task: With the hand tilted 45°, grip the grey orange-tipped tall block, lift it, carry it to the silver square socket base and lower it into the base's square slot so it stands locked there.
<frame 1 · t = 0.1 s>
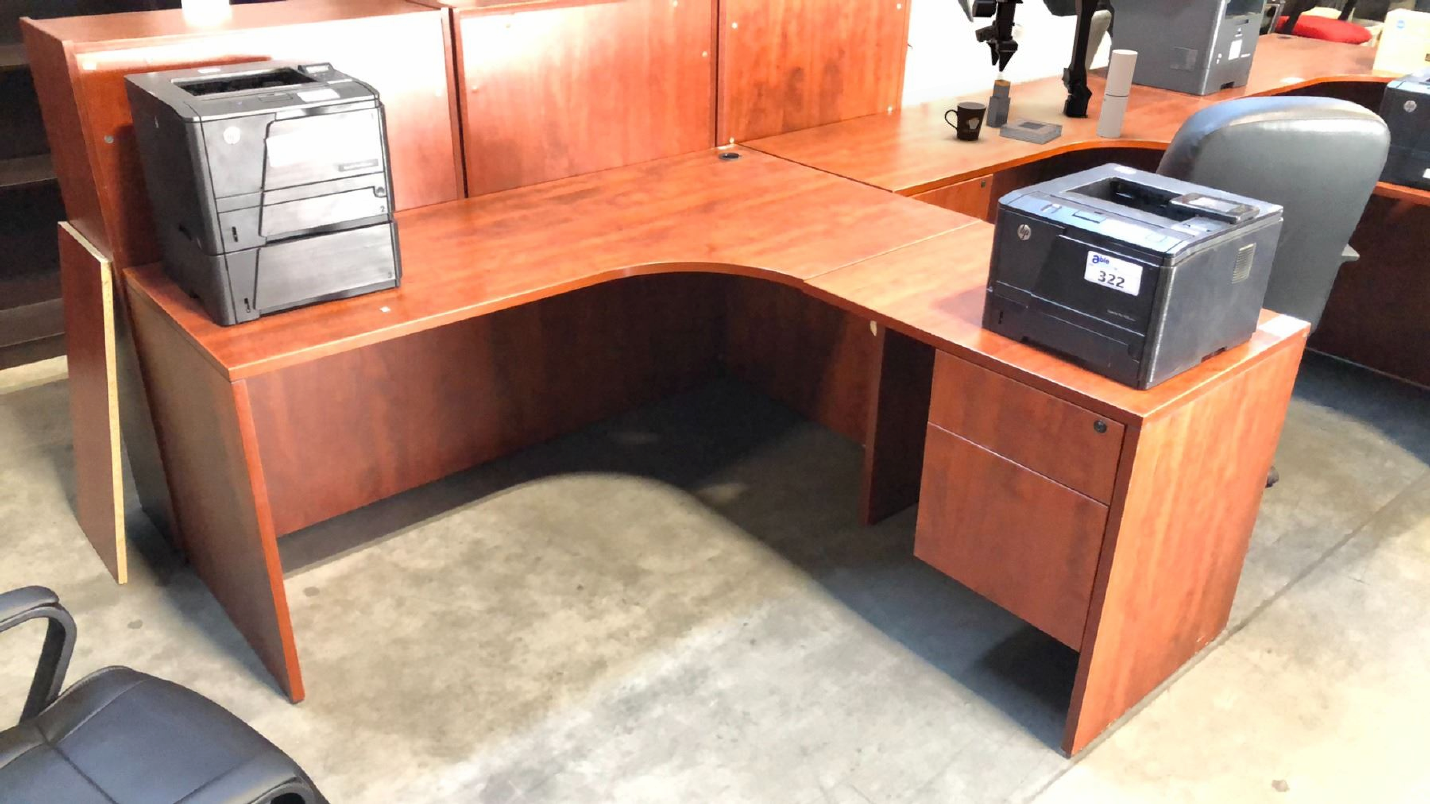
hand: (997, 68, 338), 15 cm above the table, tool pointing down, fingers open, 9 cm apart
coffee mug: (962, 138, 319), on the table
cylindrical container: (1108, 135, 325), on the table
silver square socket base: (1030, 135, 323), on the table
grey orange-tipped tall block: (996, 125, 332), on the table
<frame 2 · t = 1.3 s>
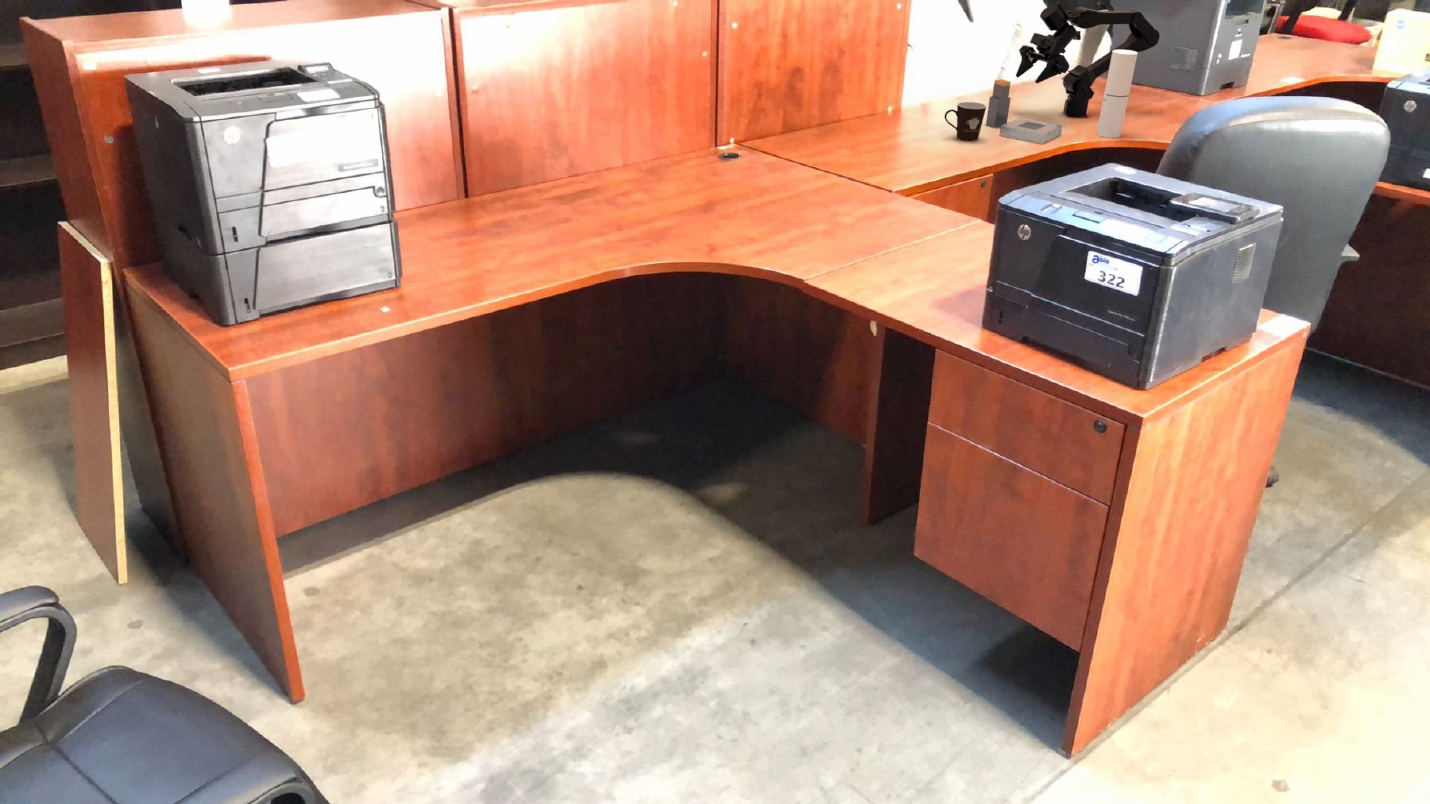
hand: (1026, 79, 332), 13 cm above the table, tool tilted 45°, fingers open, 9 cm apart
nothing on the table moved.
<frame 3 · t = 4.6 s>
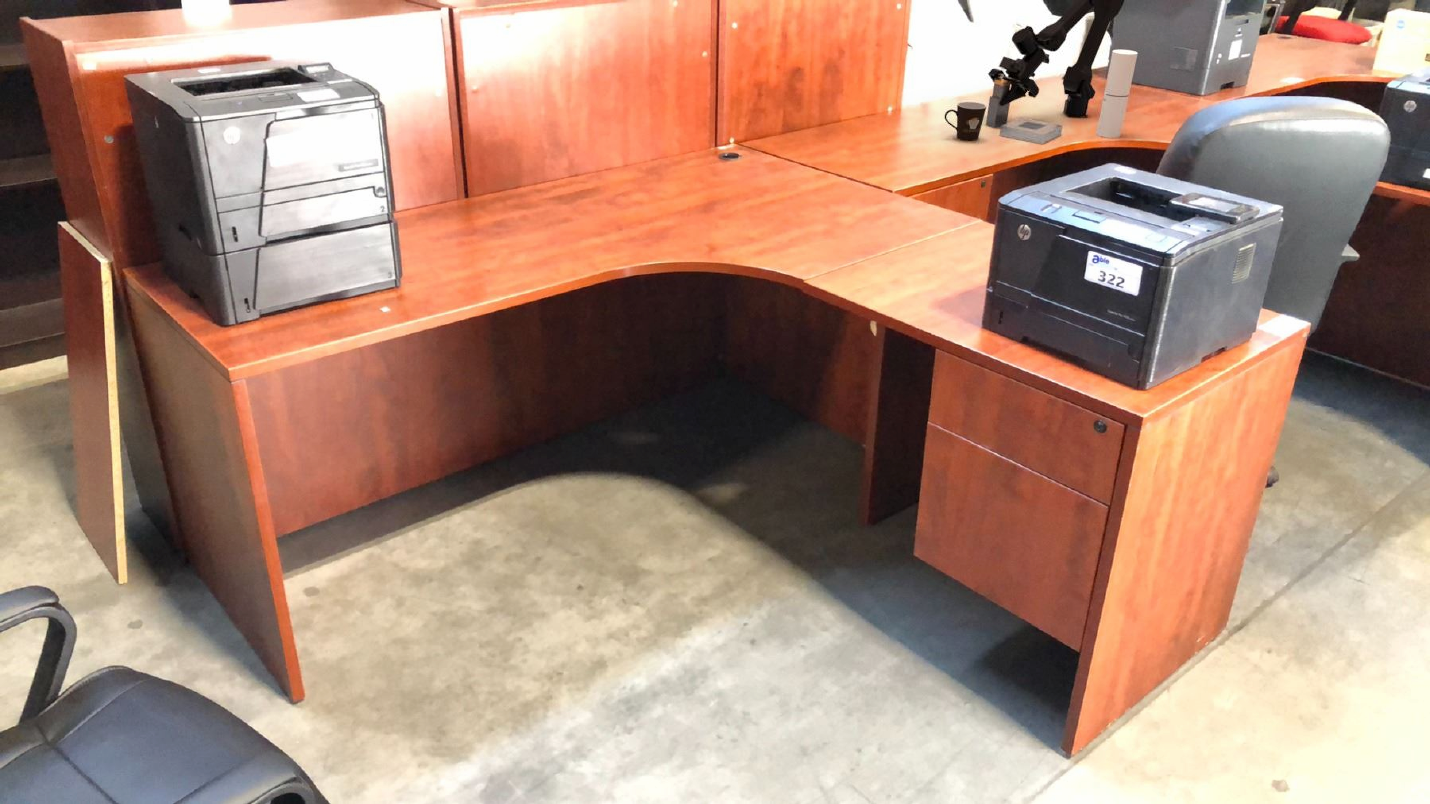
hand: (995, 103, 328), 7 cm above the table, tool tilted 45°, fingers closed on grey orange-tipped tall block, 4 cm apart
grey orange-tipped tall block: (996, 125, 332), on the table, touching gripper
everything else where it was.
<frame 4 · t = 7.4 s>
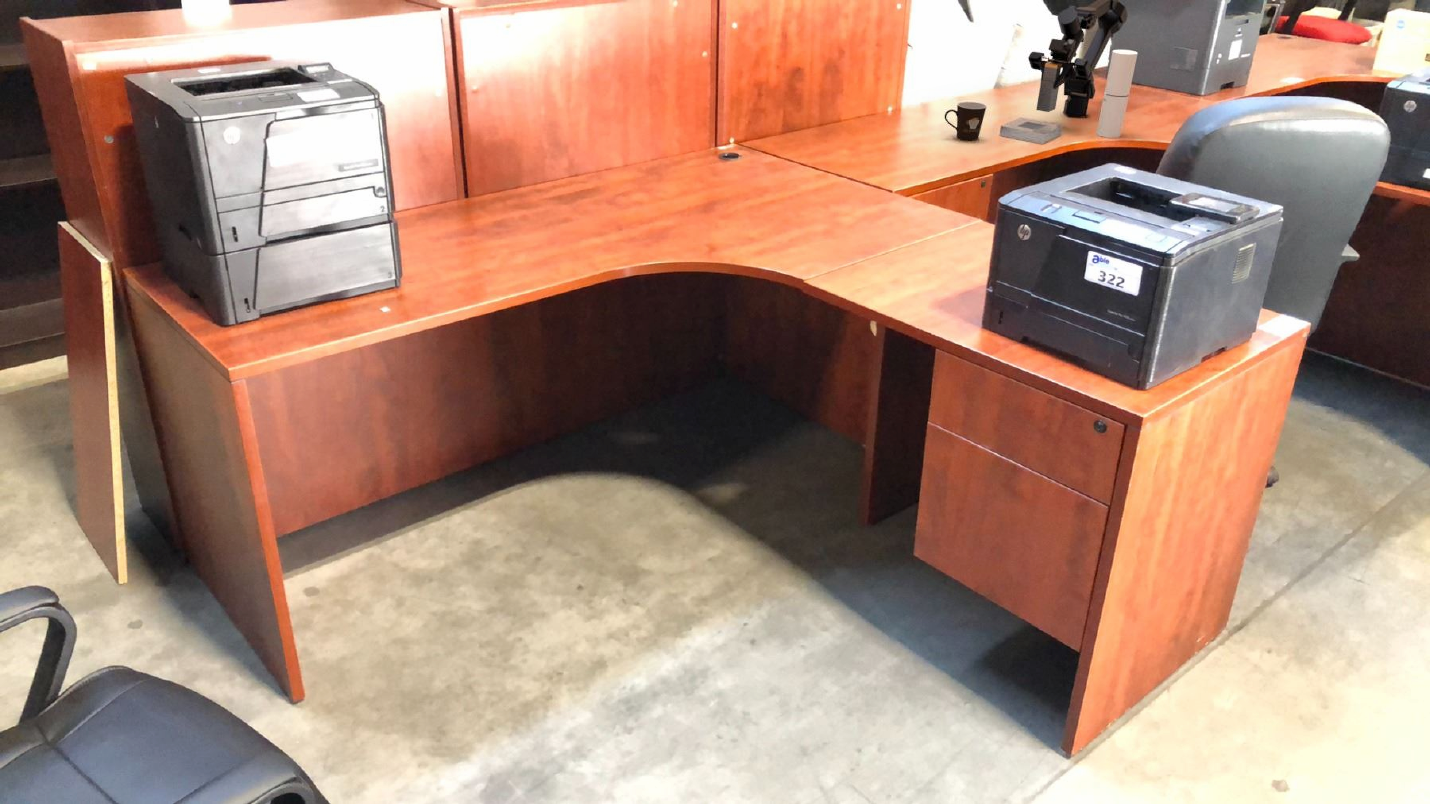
hand: (1047, 87, 321), 13 cm above the table, tool tilted 45°, fingers closed on grey orange-tipped tall block, 4 cm apart
grey orange-tipped tall block: (1045, 109, 326), point 6 cm above the table, touching gripper
everything else where it was.
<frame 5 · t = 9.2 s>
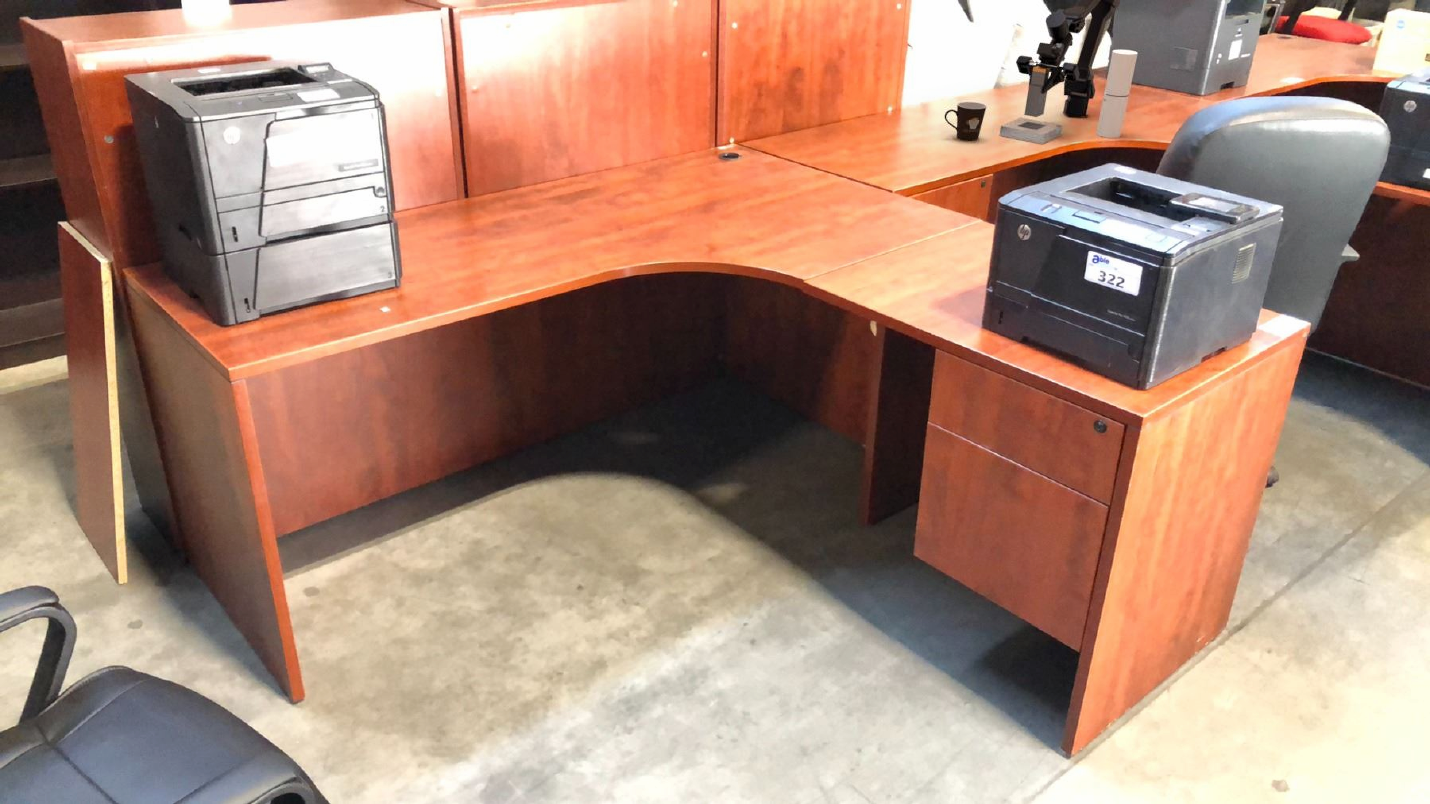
hand: (1035, 91, 315), 13 cm above the table, tool tilted 45°, fingers closed on grey orange-tipped tall block, 4 cm apart
grey orange-tipped tall block: (1033, 114, 320), point 6 cm above the table, touching gripper
everything else where it was.
when the fingers open (8 cm above the table, at t = 10.6 s): grey orange-tipped tall block drops 1 cm, resting in silver square socket base.
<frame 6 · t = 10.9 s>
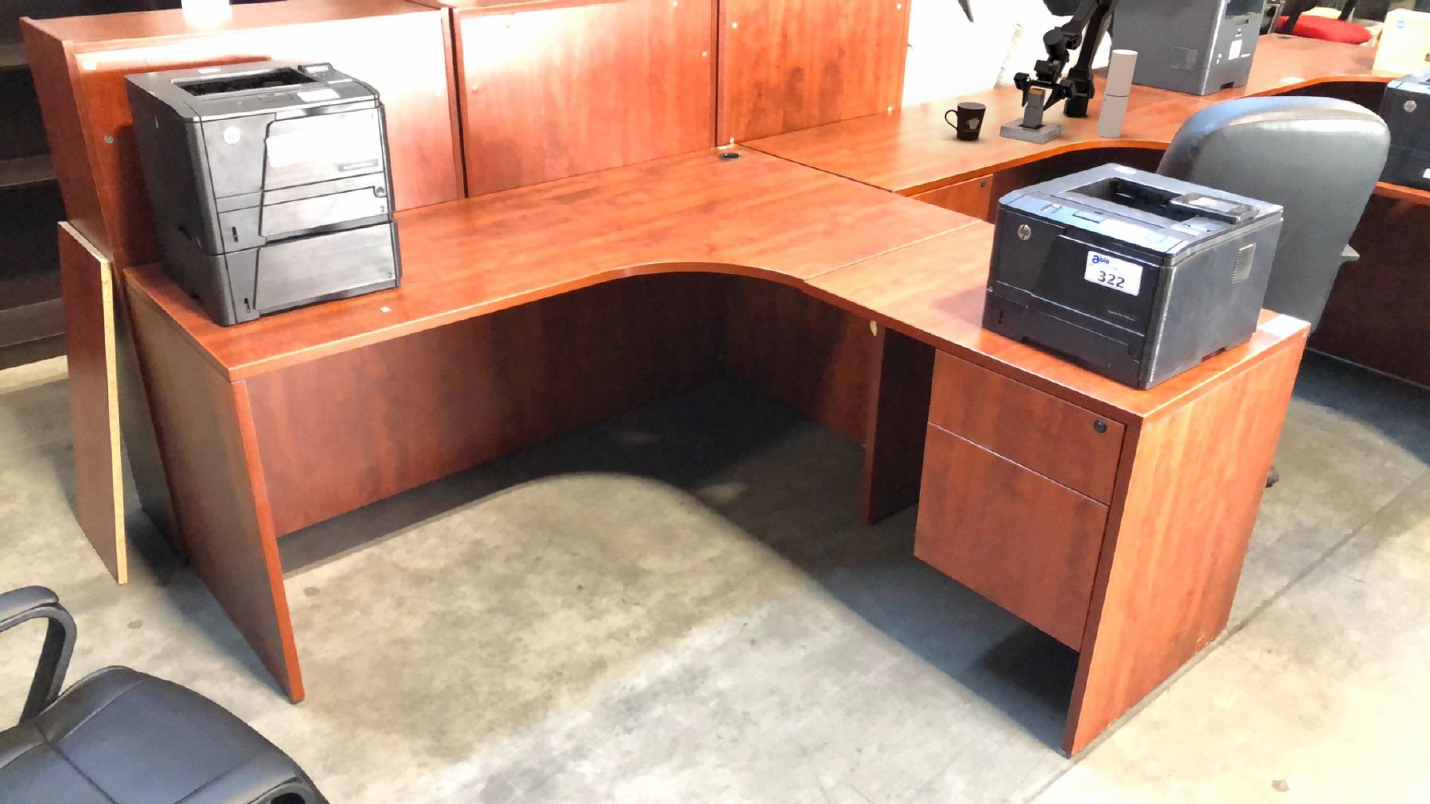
hand: (1033, 108, 318), 9 cm above the table, tool tilted 45°, fingers open, 7 cm apart
grey orange-tipped tall block: (1030, 135, 323), resting in silver square socket base
everything else where it was.
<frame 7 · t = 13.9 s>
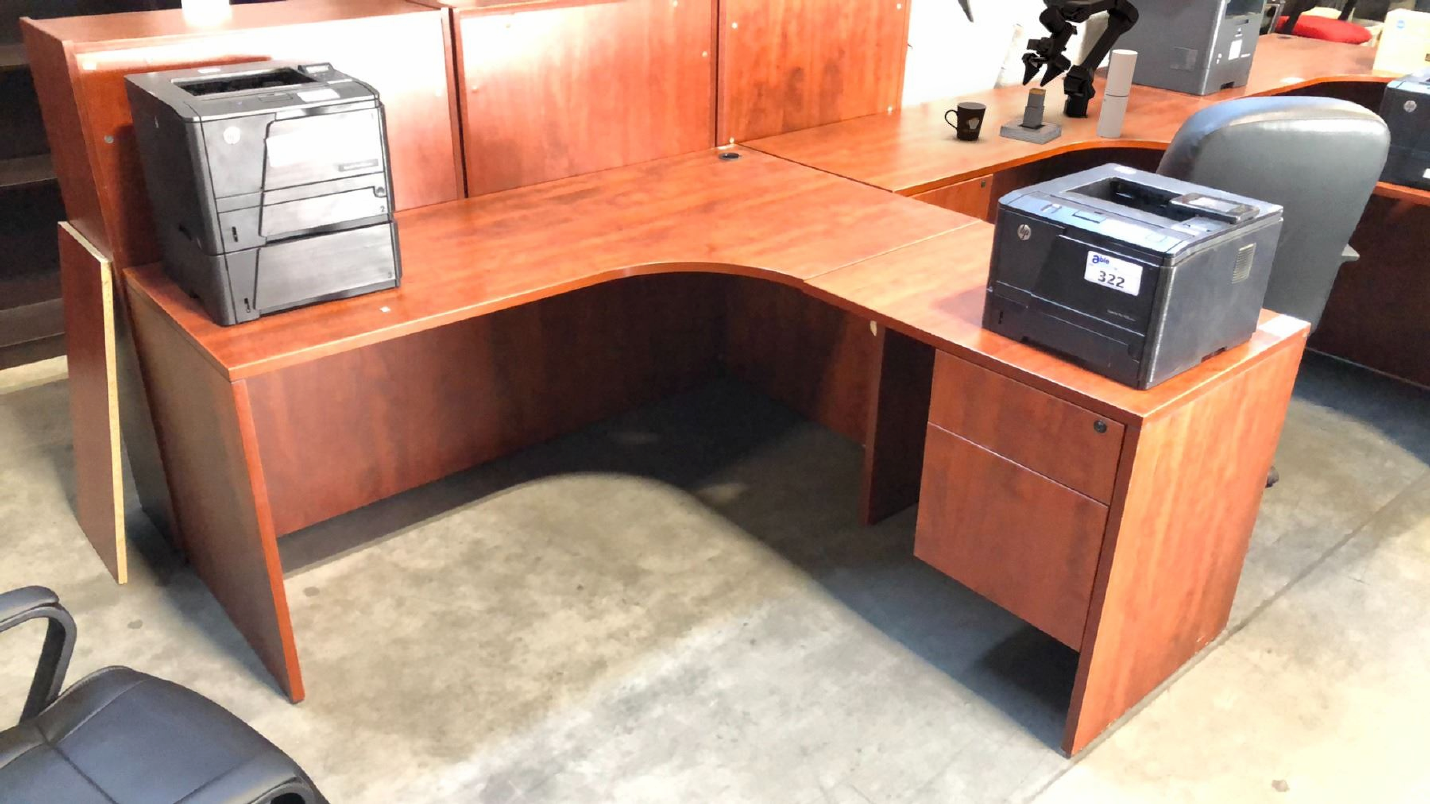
hand: (1032, 85, 328), 12 cm above the table, tool tilted 35°, fingers open, 9 cm apart
nothing on the table moved.
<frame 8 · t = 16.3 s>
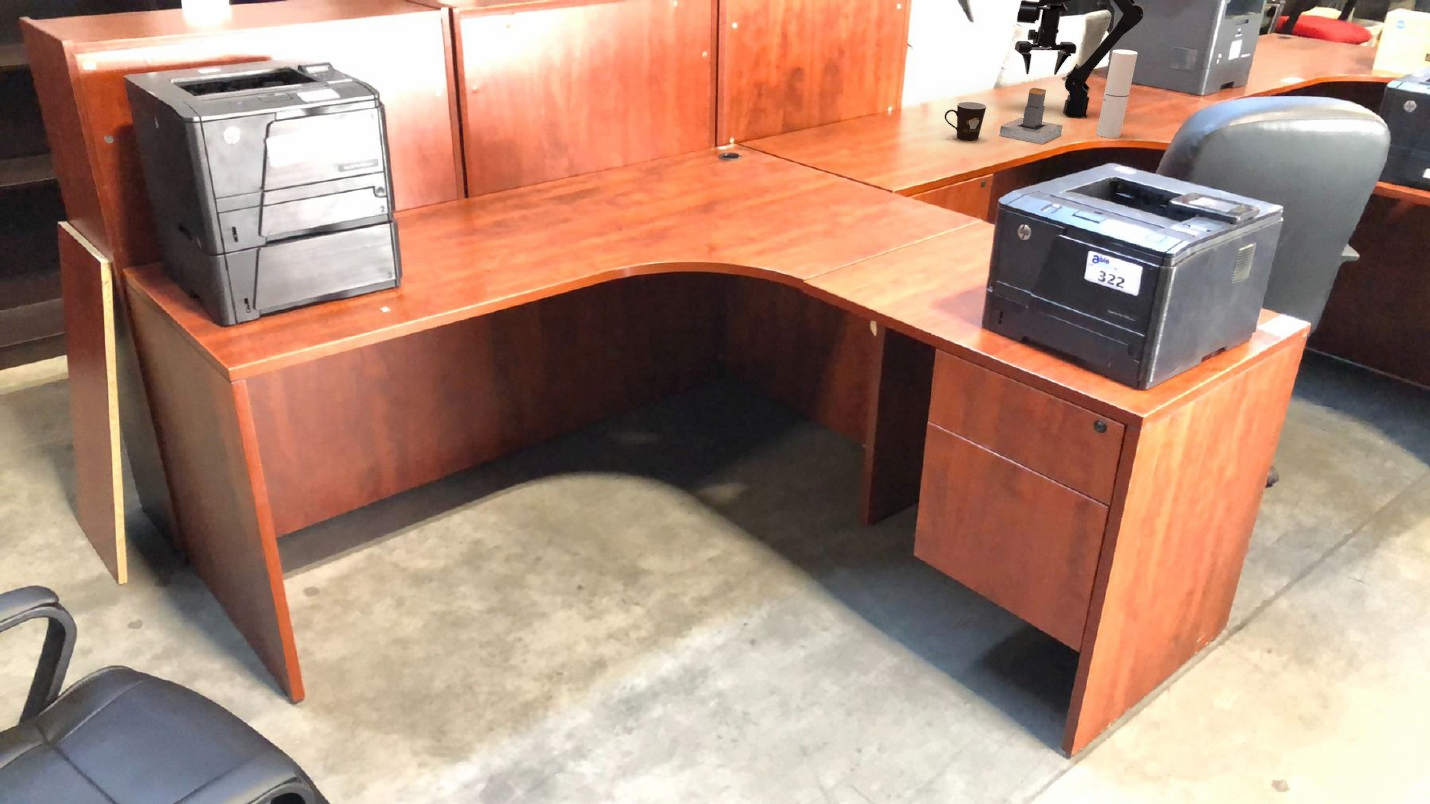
hand: (1041, 74, 344), 12 cm above the table, tool pointing down, fingers open, 9 cm apart
nothing on the table moved.
at the end: grey orange-tipped tall block 0.0 cm off-centre on the silver square socket base, point 0.0 cm above the silver square socket base's base; grey orange-tipped tall block tilted 0°; the gripper is holding nothing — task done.
